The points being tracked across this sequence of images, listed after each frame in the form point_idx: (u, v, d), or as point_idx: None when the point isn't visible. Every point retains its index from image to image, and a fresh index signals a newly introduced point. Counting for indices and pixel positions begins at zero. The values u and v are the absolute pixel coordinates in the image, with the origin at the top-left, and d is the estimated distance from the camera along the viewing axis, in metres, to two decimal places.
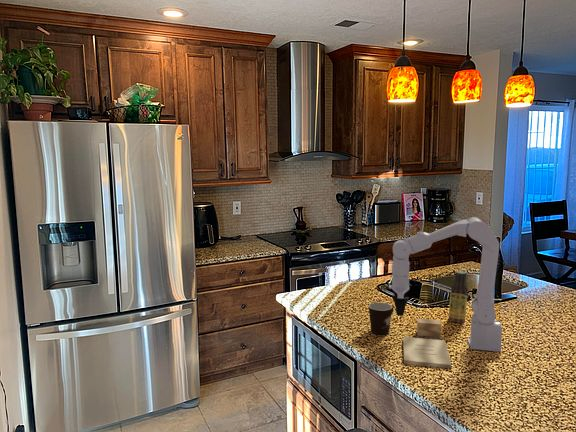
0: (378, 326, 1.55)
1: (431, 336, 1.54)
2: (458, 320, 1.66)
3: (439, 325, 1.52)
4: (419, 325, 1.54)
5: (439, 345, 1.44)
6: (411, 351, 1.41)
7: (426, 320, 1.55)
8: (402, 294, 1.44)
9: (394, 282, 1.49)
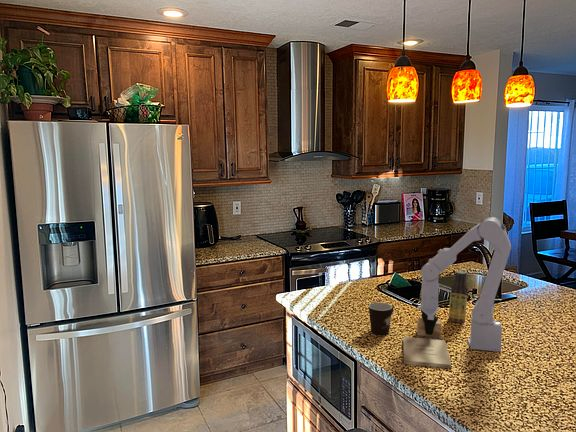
0: (378, 326, 1.55)
1: (432, 336, 1.54)
2: (458, 320, 1.66)
3: (439, 325, 1.52)
4: (419, 325, 1.54)
5: (439, 345, 1.44)
6: (411, 351, 1.41)
7: None
8: (432, 316, 1.47)
9: (423, 303, 1.53)
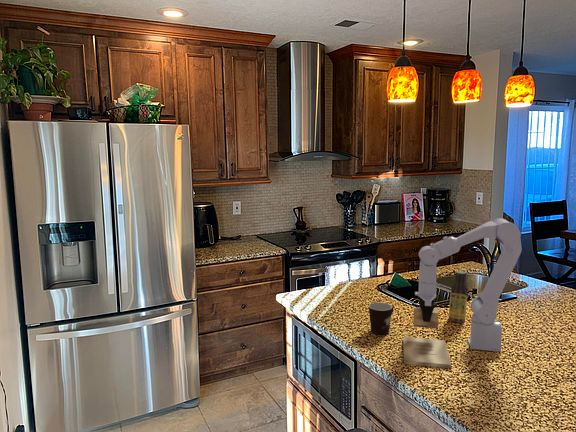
0: (378, 326, 1.55)
1: (428, 326, 1.47)
2: (458, 320, 1.66)
3: (436, 314, 1.46)
4: (415, 314, 1.48)
5: (439, 345, 1.44)
6: (411, 351, 1.41)
7: None
8: (430, 301, 1.41)
9: (421, 289, 1.46)
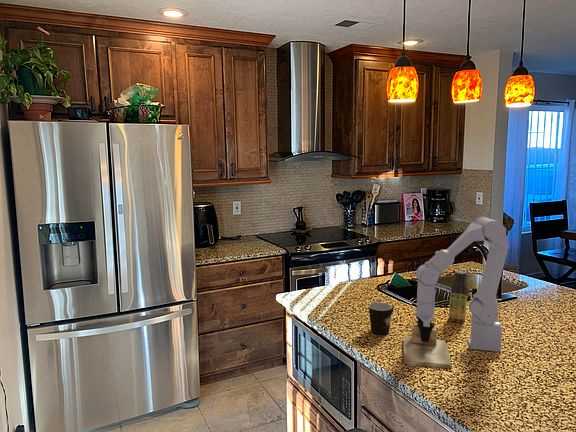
0: (378, 326, 1.55)
1: (427, 343, 1.45)
2: (458, 320, 1.66)
3: (435, 331, 1.44)
4: (413, 331, 1.45)
5: (439, 345, 1.44)
6: (411, 351, 1.41)
7: None
8: (428, 322, 1.38)
9: (419, 309, 1.44)
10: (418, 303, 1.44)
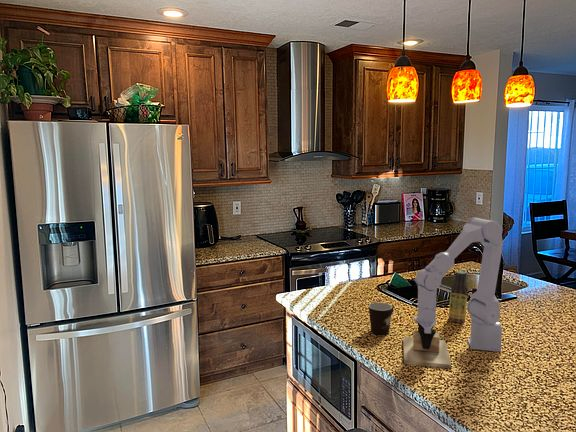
0: (378, 326, 1.55)
1: (429, 350, 1.40)
2: (458, 320, 1.66)
3: (437, 338, 1.38)
4: (415, 338, 1.40)
5: (439, 345, 1.44)
6: (411, 351, 1.41)
7: None
8: (429, 329, 1.33)
9: (420, 314, 1.39)
10: (419, 309, 1.39)
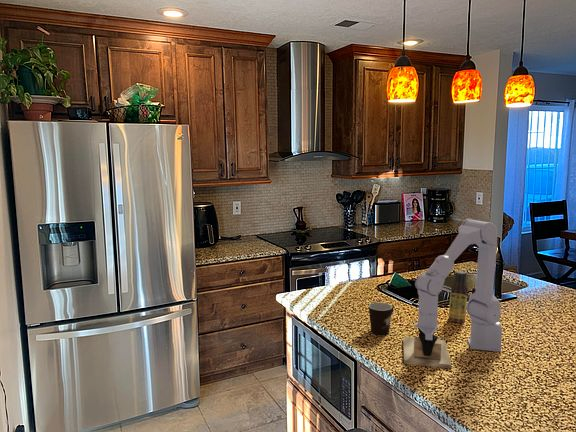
0: (378, 326, 1.55)
1: (430, 357, 1.35)
2: (458, 320, 1.66)
3: (439, 345, 1.34)
4: (416, 344, 1.35)
5: None
6: (411, 351, 1.41)
7: None
8: (431, 335, 1.29)
9: (421, 320, 1.34)
10: (420, 314, 1.34)
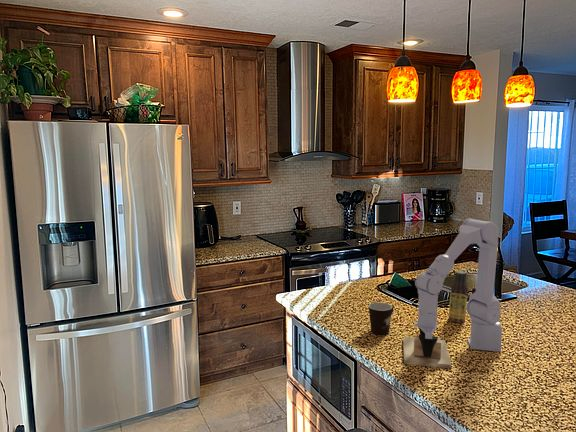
0: (378, 326, 1.55)
1: None
2: (458, 320, 1.66)
3: (439, 344, 1.34)
4: (416, 343, 1.36)
5: None
6: (411, 351, 1.41)
7: None
8: (431, 334, 1.29)
9: (421, 319, 1.35)
10: (419, 313, 1.35)
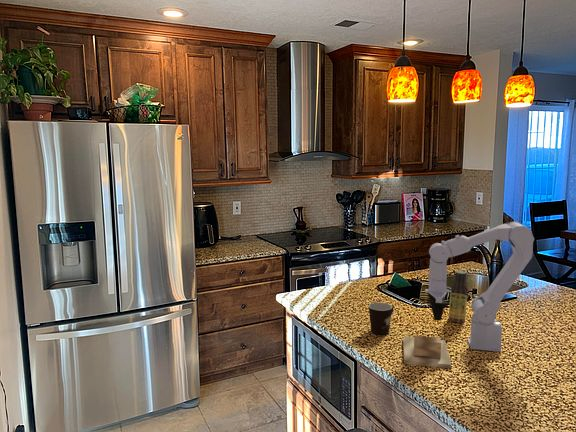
0: (378, 326, 1.55)
1: (430, 356, 1.36)
2: (458, 320, 1.66)
3: (439, 344, 1.34)
4: (416, 343, 1.36)
5: None
6: (411, 351, 1.41)
7: (425, 338, 1.37)
8: (441, 298, 1.41)
9: (431, 286, 1.46)
10: (430, 280, 1.47)
